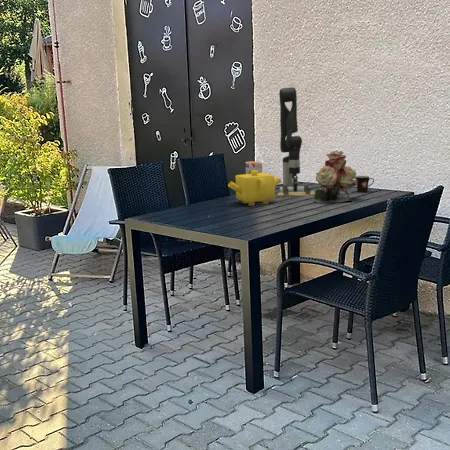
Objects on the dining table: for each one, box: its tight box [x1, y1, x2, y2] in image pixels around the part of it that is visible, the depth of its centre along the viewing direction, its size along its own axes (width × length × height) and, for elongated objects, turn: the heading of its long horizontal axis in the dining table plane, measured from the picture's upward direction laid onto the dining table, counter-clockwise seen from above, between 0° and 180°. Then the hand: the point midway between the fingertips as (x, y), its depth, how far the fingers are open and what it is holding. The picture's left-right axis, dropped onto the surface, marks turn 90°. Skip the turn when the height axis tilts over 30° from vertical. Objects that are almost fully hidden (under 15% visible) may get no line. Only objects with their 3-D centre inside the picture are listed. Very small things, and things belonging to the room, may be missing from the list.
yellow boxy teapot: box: [227, 170, 282, 206], centre depth 361 cm, size 35×29×20 cm
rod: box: [279, 185, 311, 193], centre depth 394 cm, size 20×4×4 cm
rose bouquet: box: [314, 150, 358, 204], centre depth 359 cm, size 26×29×30 cm
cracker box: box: [245, 160, 263, 174], centre depth 399 cm, size 14×6×21 cm, turn 25°
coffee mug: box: [355, 175, 375, 194], centre depth 384 cm, size 12×9×10 cm
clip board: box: [277, 185, 316, 198], centre depth 383 cm, size 11×24×5 cm, turn 89°
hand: (294, 190), depth 395 cm, fingers open, 8 cm apart
